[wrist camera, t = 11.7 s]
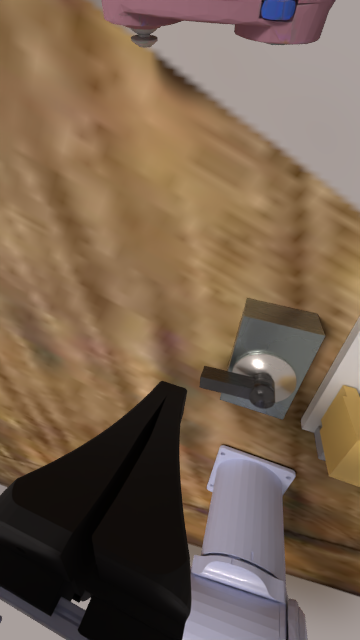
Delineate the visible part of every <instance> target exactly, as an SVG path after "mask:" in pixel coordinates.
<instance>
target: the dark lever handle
mask: <svg viewBox="0 0 360 640" xmlns="http://www.w3.org/2000/svg"><path fill="white" fill-rule="evenodd" d="M200 387H201V388H205V389H208V390H212V391H216V392H220V393H224V394H228V395H232V396H236V397H240V398H244V399H248V400H250V402H251V403H252V404H253V405H254V406H256V407H258V408H262V409H267V408H270V407H272V406H273V405H274V404H275V382H274V380H273V379H272V378H271V377H270V376H268V375H265V374H258V375H255V376H253V377H251V376H246V375H242V374H237V373H233V372H229V371H224V370H220V369H216V368H211V367H207V366H204V369H203V372H202V374H201V378H200Z"/></svg>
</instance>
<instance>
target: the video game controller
mask: <svg viewBox="0 0 360 640" xmlns="http://www.w3.org/2000/svg"><path fill="white" fill-rule="evenodd" d="M334 2H335V0H102V6H103V12H104V18H105V20H107V21H109V22H111V23H113V24H118V25H123V26H125V27H129V28H131V30H132V31H134V32H135V33H137V34H138V35H135V36H132V37H131V40H132V41H133V42H134V43H135V44H137V45H138V46H139V47H151V46H152V45H153V44H154V43H155V42H156V41H157V37H156V36H153V35H150V34H151V33H153V32H154V31H155V30H156V29H157V28H160V27H161V26H165V25H171V24H175V23H178V22H181V21H184V20H185V21H196V22H207V23H208V22H209V23H220V24H235V31H234V32H235V34H236V35H239V36H241V37H243V38H246V39H250V40H254V41H259V42H264V43H267V44H271V45H285V44H308V43H311V42H315V41H317V40H318V39H319V38H320V35H321V32H322V29H323V27H324V24H325V21H326V18H327V15H328V12H329V10H330V8H331V7H332V5H333V4H334Z"/></svg>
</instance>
